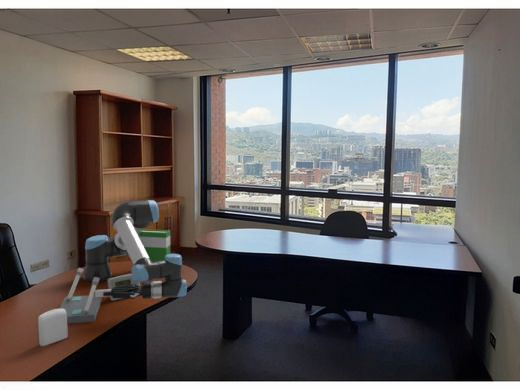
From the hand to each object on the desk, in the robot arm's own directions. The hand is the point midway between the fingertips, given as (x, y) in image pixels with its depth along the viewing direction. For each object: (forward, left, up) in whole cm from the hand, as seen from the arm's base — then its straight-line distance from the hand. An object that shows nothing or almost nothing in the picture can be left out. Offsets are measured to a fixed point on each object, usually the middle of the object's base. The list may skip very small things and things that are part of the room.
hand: (95, 293), depth 179 cm
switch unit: (-1, -12, -11) cm, 16 cm away
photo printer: (+23, +2, -11) cm, 26 cm away
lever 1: (-3, -21, -8) cm, 23 cm away
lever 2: (+2, -3, -8) cm, 9 cm away
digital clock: (-25, -7, -11) cm, 28 cm away
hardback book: (-66, -24, -11) cm, 71 cm away
